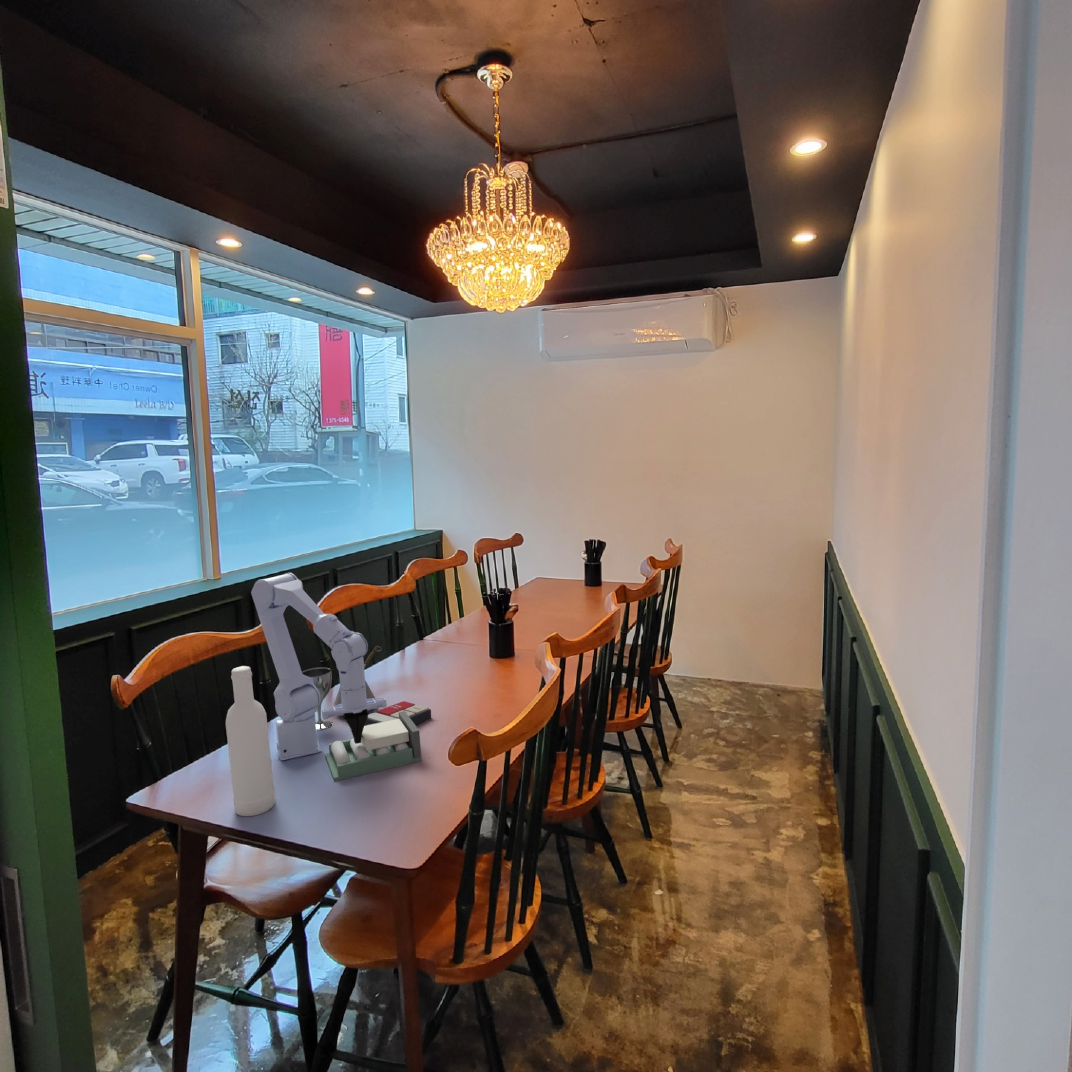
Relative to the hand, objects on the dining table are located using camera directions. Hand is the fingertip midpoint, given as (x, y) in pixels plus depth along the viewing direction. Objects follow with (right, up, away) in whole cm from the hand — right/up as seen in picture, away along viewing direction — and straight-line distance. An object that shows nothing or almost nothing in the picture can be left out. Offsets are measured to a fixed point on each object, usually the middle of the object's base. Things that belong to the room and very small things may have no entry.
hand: (357, 741), depth 159 cm
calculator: (+5, -3, +22) cm, 23 cm away
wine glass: (-16, -3, +24) cm, 29 cm away
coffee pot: (-8, -1, +37) cm, 38 cm away
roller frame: (+3, -5, +2) cm, 6 cm away
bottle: (-17, -8, -18) cm, 26 cm away
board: (+6, 0, +3) cm, 6 cm away
